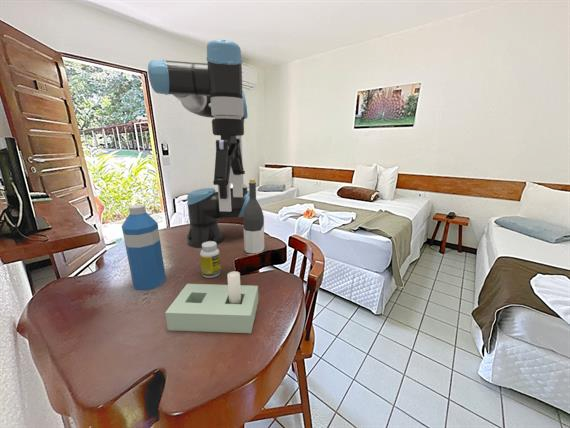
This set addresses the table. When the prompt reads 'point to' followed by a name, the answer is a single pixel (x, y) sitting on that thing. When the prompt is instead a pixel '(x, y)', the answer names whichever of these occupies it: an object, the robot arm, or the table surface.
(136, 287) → the water bottle
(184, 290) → the socket block
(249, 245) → the wine bottle
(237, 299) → the dowel
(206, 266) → the pill bottle
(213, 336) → the table surface
